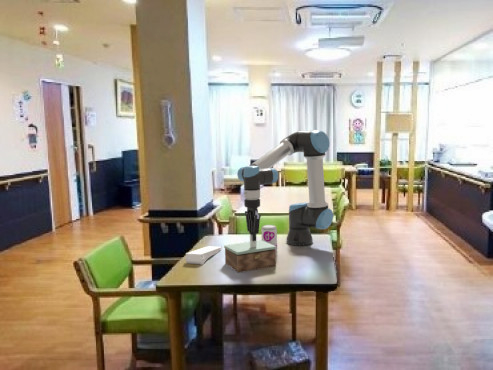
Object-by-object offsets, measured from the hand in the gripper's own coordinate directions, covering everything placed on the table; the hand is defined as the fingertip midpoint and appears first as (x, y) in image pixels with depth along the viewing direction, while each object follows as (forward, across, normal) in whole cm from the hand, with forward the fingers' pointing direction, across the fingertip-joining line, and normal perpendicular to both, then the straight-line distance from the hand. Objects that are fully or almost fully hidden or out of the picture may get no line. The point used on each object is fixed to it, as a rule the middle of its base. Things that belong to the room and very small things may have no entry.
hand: (253, 246), depth 210 cm
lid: (+2, -4, 0) cm, 4 cm away
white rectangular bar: (+11, -29, -15) cm, 34 cm away
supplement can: (+10, -16, +17) cm, 26 cm away
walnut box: (+10, -4, 0) cm, 11 cm away
